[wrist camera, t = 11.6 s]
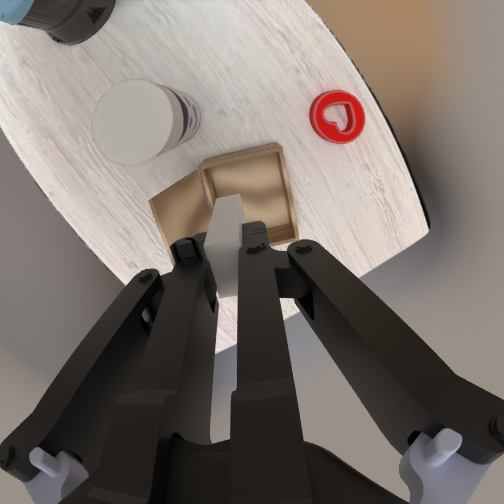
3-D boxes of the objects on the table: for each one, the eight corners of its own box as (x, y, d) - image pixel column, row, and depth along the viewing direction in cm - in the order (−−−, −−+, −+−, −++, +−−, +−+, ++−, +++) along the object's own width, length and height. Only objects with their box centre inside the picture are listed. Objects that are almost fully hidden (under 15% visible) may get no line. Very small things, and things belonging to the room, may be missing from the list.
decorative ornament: (363, 99, 42) (370, 99, 39) (353, 147, 46) (360, 149, 44) (314, 85, 41) (318, 83, 38) (304, 135, 45) (308, 136, 43)
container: (210, 129, 44) (188, 138, 27) (160, 154, 46) (114, 181, 28) (186, 81, 40) (149, 62, 22) (137, 109, 42) (78, 111, 24)
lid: (197, 170, 40) (194, 171, 40) (151, 199, 30) (147, 200, 30) (224, 258, 47) (221, 258, 47) (193, 306, 37) (190, 306, 37)
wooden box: (204, 159, 47) (198, 166, 41) (276, 142, 46) (282, 147, 40) (227, 238, 54) (225, 256, 48) (292, 224, 53) (299, 240, 47)
